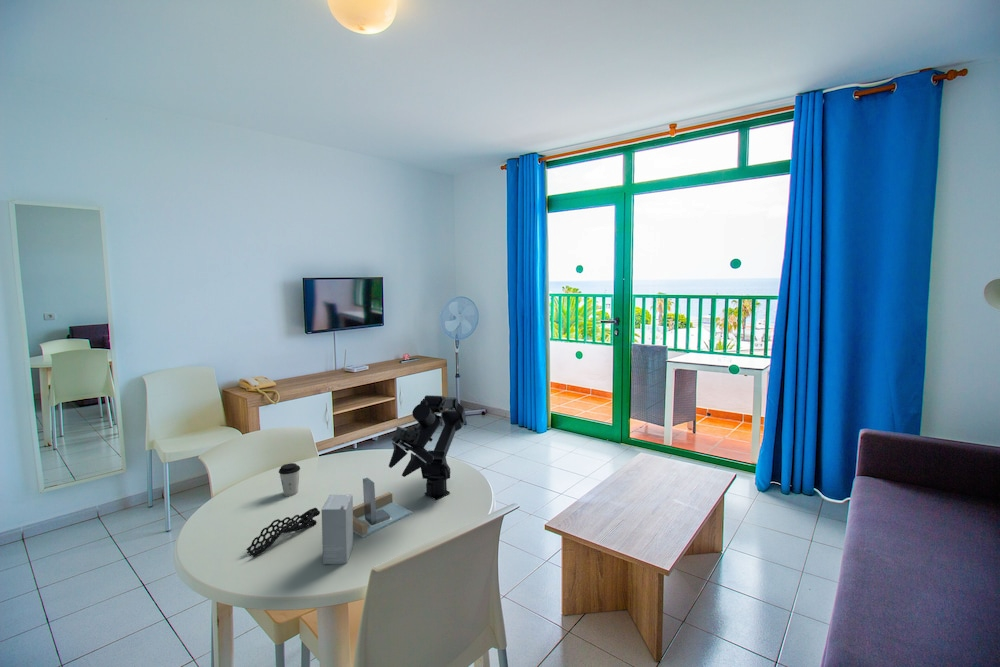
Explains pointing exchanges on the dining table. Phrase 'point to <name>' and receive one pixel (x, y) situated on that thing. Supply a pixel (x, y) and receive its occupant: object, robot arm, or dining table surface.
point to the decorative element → (283, 530)
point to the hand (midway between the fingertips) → (396, 471)
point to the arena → (381, 503)
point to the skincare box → (337, 529)
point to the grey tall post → (372, 504)
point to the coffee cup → (290, 478)
